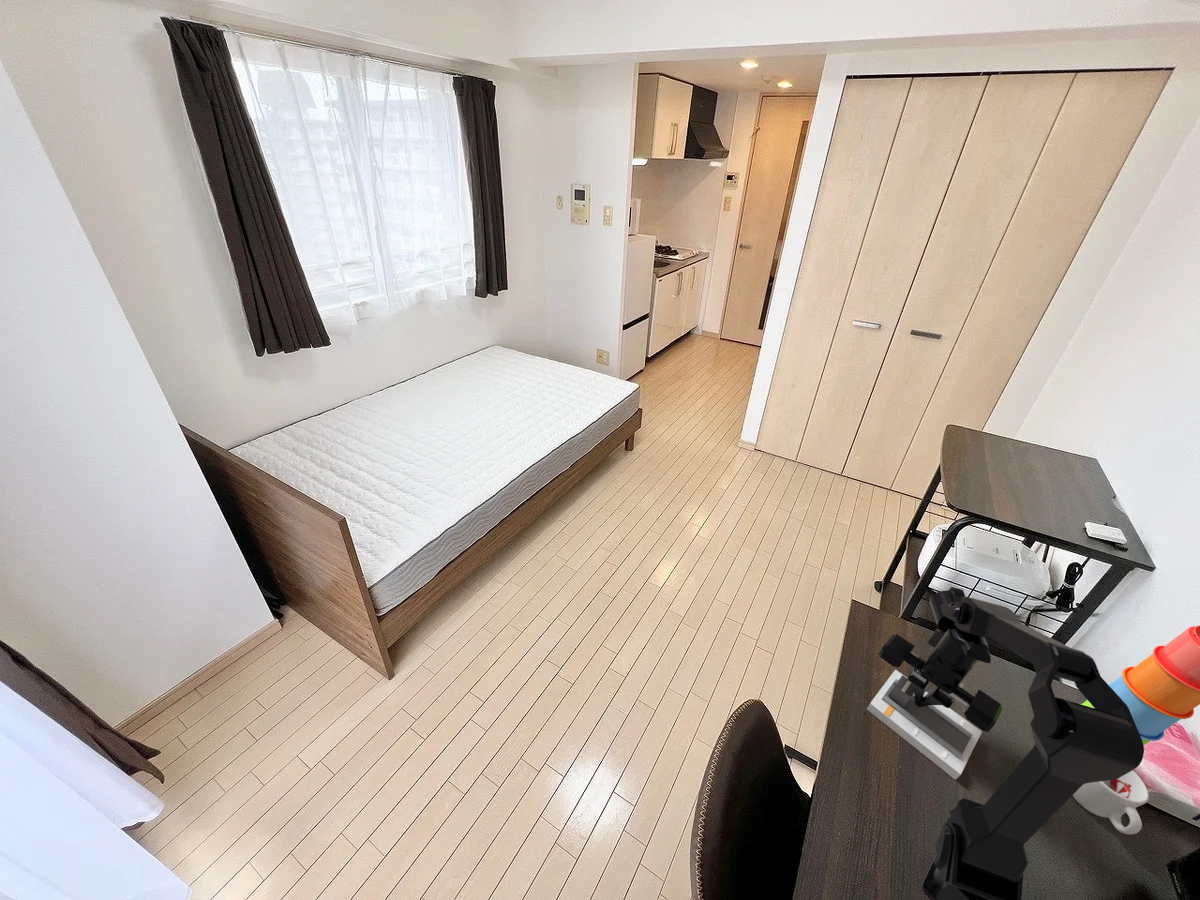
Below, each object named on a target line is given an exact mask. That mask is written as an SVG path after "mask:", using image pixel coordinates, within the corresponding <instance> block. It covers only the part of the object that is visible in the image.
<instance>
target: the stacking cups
mask: <svg viewBox="0 0 1200 900" xmlns="http://www.w3.org/2000/svg"><path fill="white" fill-rule="evenodd" d="M1108 685H1109V686H1110V687H1111V688H1112V689H1113V691H1114V692H1115V693H1116V694H1117V695H1118V696H1119V697H1120V698H1121V699H1122V700H1123V701H1124V703H1125V704H1126V705H1127V706H1128V708H1129V710H1130V713H1131V715H1132V717H1133V720H1134V722H1135V724H1136V727H1137V729H1138V732H1139V734H1140V736H1141V739H1142V741H1143V745H1144V746H1145V745H1147V744H1148V743H1150V742H1156V741H1157V742H1158V741H1160V740H1162V739H1163V738H1164V737H1165V731H1166V730H1167V729H1169V728H1170V727H1172V726H1173V725H1175V724H1176V723H1178V722H1179V721H1181V720H1187V719H1190V718H1192V717H1193V716H1194V713H1195V712H1194V711H1195V710H1194V709H1195V708H1197V707H1198V706H1200V625H1194V626H1193V625H1192V626H1190V627H1188V628H1187V629H1185V630H1183V632H1181V633H1180V634H1178V635H1177V636H1176V637H1175V638H1173V639H1172V640H1170V641H1169V642H1168V643H1167V644H1165V645H1158V646H1154V648H1153V650H1152V653H1151V654H1150V655H1149V656H1147V657H1146V658H1145V659H1144V660H1142V661H1141V662H1140V663H1138V664H1136V665H1135V666H1127V667H1125V668H1124V669H1123V670H1122V671H1121V675H1120V676H1119V677H1118V678H1117V679H1115V680H1114V681H1112V682H1111V683H1110V684H1108ZM1080 704H1081V705H1085V706H1088V707H1091V708H1094V707H1093V706H1092V705H1091V703H1090V702H1089V701H1088V700H1087V699H1086V700H1085V701H1084V702H1083V703H1080Z"/></svg>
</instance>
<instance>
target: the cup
mask: <svg viewBox="0 0 1200 900" xmlns="http://www.w3.org/2000/svg"><path fill="white" fill-rule="evenodd" d="M1072 797H1073V798H1074V799H1075V801H1077V803H1079V805H1080V806H1082V807H1083V808H1084V809H1085V810H1086V811H1088V812H1090V813H1091V814H1094V815H1096V816H1098V817H1101V818H1108V819H1109V820H1110V822H1111V824H1112V825H1113V826H1114V828H1115V829H1116V830H1117V831H1118V832H1119V833H1122V834H1125V835H1134V834H1135V835H1136V834H1137V833H1139V832H1140V831H1141V830H1142V827H1143V823H1142V819H1141V817H1140V815H1139V812H1138V811H1137V809H1136V808H1138V807H1141V806H1143V805H1145V804H1146V803H1147V802H1148V801H1149V797H1150V794H1149V791H1148V788H1147V785H1146V784H1145V783H1144V781H1143V779H1141V777H1140V776H1139V775H1138V774H1137V773H1136V772H1135V771H1134V770H1132V771H1130V772H1129V773H1127V774H1125V775H1123V776H1122V777H1120V778H1118V779H1115V780H1108V781H1100V782H1092V783H1086V784H1084V785H1082V786H1081V787H1080V788H1079V789H1078V790H1077V791H1076V792H1075V793H1074V794H1073V795H1072ZM1124 814H1127V816H1128V818H1129V824H1128V825H1127V826H1124V825H1123V823H1122V817H1123V815H1124Z"/></svg>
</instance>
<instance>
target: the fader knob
mask: <svg viewBox="0 0 1200 900" xmlns="http://www.w3.org/2000/svg"><path fill="white" fill-rule="evenodd" d="M903 675H904V674H903ZM903 675H902V676H901V678H900V679H899V680H898V682H897V683H896V685H895V686H894V688H893V689H892V690H891V692H890V693H889V695H888V696H889V697H891V698H892V699H893V700H894V701H896V702H897V703H898V704H900V705H901V706H902V707H904V706H905V705H906V703H907V702H908V701H909V699H910V698H911V697H912V695H913V694H914V689H913V685H912V683H911V682H910V681H909V680H908V679H907V678H908V677H907V676H906V675H904V676H903ZM906 677H907V678H906Z"/></svg>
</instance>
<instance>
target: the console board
mask: <svg viewBox="0 0 1200 900" xmlns="http://www.w3.org/2000/svg"><path fill="white" fill-rule="evenodd" d="M902 675H903V676H905V675H904V674H902V673H901V672H900V671H898V670H897V669H895V670H894V671H893V672H892V674H891V675H889V678H887V680H886V681H885V683H884V684H883V685H882V687H881V688H880V689H879V690H878V691H877V693H876V695H875V696H874V698H873V699H872V700H871V702H870V703H869V704H868V706H867V707H866V710H867V711H868V712H869V713H871V714H872V715H873V716H875V717H876V718H877V719H878V720H880V721H881V722H882V723H883V724H884V725H886V726H887V727H888V728H890V729H891V730H892V731H893V732H895V733H896V734H897V735H898V736H900V737H901V738H902V739H904V740H905V742H908V744H910V745H911V746H913V747H914V748H915V749H916V750H917V751H918V752H919V753H920V754H922V755H923V756H924V757H926V758H927V759H928V760H930V761H931V762H933V764H934V765H936V766H937V767H938V768H940V769H941V770H942V771H943V772H944V773H946V774H947V775H949V777H951V778H952V779H953V780H955V781H956V780H957V779H958V778H959V777H960V776H961V775H962V773H963V771H964V769H965V767H966V764H967V763H968V761H969V759H970V758H971V757H970V756H971V754H972V753H973V750H975V749H974V748H975V747H976V744H977V742H978V741H979V738H980V737H981V735H982V732H983V731H982V730H981V729H980V728H978V727H977V726H976V725H974V724H973V723H971V722H970V721H969V720H967V719H966V718H964V717H963V716H961V715H960V714H959V713H957V712H955V711H954V710H953V709H951V707H950V708H946V707H944V706H943V705H930V706H924V707H918V706H917V705H915V694H913V695H912V697H911V698H910V699H909V701H908V702H907V703H906V705H905V706H904V707H902V706H901V705H900V704H898V703H897V702H896V701H894V700H893V699H892V698H891V697H889V696H888V695H889V693H890V692H891V690H892V689H893V688H894V686H895V685H896V683H897V682H898V680H899V679H900V678H901V676H902ZM905 677H906V678H907V679H908V676H905ZM927 693H929V691H926V692H925V694H924V696H925V695H926V694H927Z"/></svg>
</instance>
